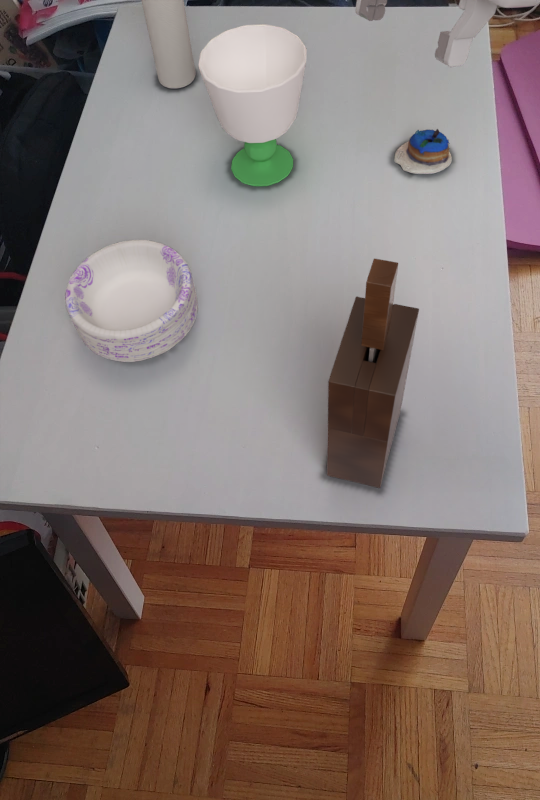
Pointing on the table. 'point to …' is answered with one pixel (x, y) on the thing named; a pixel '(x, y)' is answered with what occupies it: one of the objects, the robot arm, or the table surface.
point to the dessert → (424, 153)
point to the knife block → (367, 397)
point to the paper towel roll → (170, 41)
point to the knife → (378, 305)
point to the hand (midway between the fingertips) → (407, 39)
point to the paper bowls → (132, 300)
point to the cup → (256, 95)
